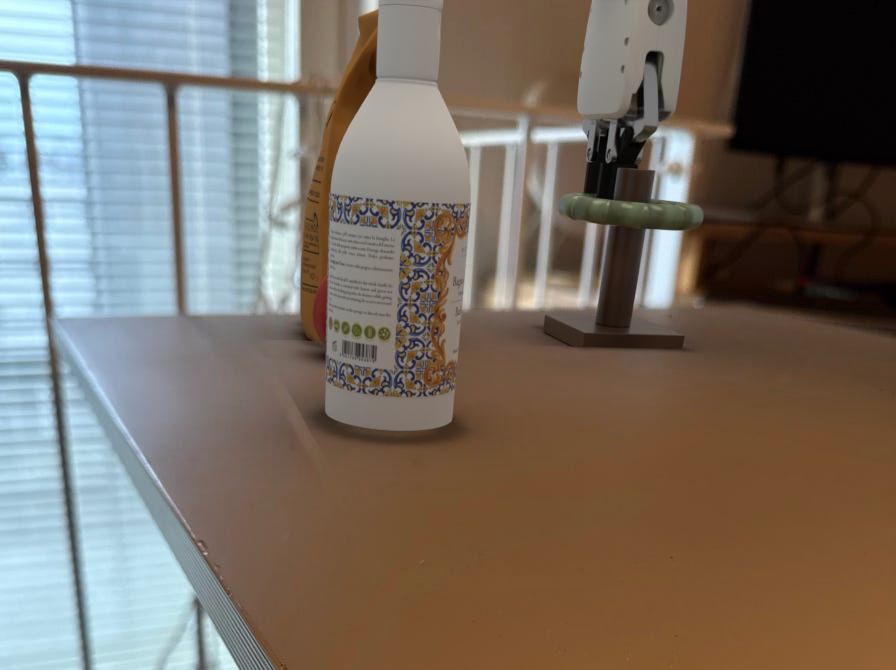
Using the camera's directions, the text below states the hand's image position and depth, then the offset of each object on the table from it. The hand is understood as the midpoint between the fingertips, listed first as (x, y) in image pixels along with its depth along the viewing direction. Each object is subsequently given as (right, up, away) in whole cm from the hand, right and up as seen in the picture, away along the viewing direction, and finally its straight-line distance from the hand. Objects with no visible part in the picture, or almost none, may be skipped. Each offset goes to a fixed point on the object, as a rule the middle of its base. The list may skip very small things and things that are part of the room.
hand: (605, 213), depth 83 cm
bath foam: (-18, -25, -30) cm, 43 cm away
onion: (-21, -18, -17) cm, 32 cm away
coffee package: (-21, -13, -6) cm, 25 cm away
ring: (+1, -2, -4) cm, 5 cm away
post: (0, -11, 0) cm, 11 cm away
